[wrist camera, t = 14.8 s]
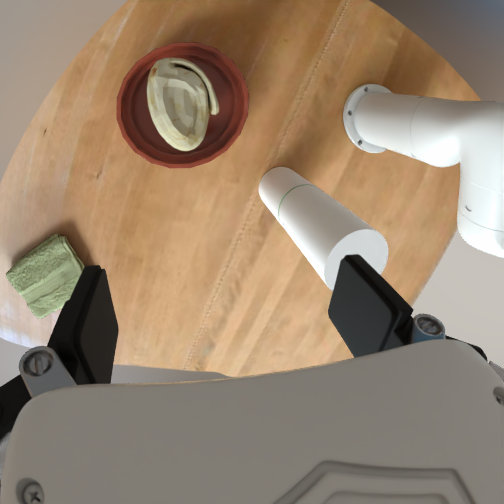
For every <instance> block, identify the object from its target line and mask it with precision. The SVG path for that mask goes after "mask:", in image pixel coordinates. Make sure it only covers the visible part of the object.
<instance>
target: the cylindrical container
mask: <svg viewBox="0 0 504 504" xmlns="http://www.w3.org/2000/svg"><path fill="white" fill-rule="evenodd" d="M259 194H260V197H261V199H262V200H263V202H264V203H265V204H266V206H267V207H268V208H269V209H270V211H271V212H272V213H273V215H274V216H275V217H276V218H277V220H278V221H279V222H280V224H281V225H282V226H283V228H284V229H285V230H286V231H287V233H288V234H289V235H290V237H291V238H292V239H293V241H294V242H295V243H296V245H297V246H298V247H299V249H300V250H301V251H302V252H303V254H304V255H305V256H306V258H307V259H308V260H309V262H310V263H311V265H312V266H313V267H314V269H315V270H316V271H317V273H318V274H319V275H320V277H321V278H322V279H323V281H324V282H325V283H326V285H327V286H328V288H329V289H330V290H332V291H333V290H334V286H335V282H336V278H337V274H338V270H339V265H340V261H341V259H343V258H344V257H345V256H346V255H353V254H359V255H360V256H361V257H363V258H364V259H365V260H366V261H367V262H368V263H369V264H370V265H371V266H372V267H373V268H374V269H375V270H376V271H377V272H378V273H379V274H380V275H381V273H382V271H383V270H384V268H385V265H386V263H387V259H388V245H387V242H386V240H385V238H384V237H383V236H382V235H381V234H380V233H379V232H378V231H376V230H375V229H374V228H373V227H371V226H370V225H369V224H367V223H366V222H365V221H363V220H362V219H361V218H359V217H358V216H357V215H355V214H354V213H353V212H351V211H350V210H349V209H347V208H346V207H345V206H343V205H342V204H340V203H339V202H338V201H336V200H335V199H333V198H332V197H331V196H329V195H328V194H326V193H325V192H324V191H322V190H321V189H319V188H318V187H316V186H315V185H314V184H312V183H311V182H309V181H308V180H306V179H305V178H303V177H302V176H300V175H299V174H297V173H296V172H294V171H293V170H291V169H289V168H286V167H276V168H273V169H271V170H269V171H268V172H267V173H266V174H264V176H263V177H262V179H261V181H260V184H259Z"/></svg>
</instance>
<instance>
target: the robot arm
mask: <svg viewBox="0 0 504 504" xmlns="http://www.w3.org/2000/svg"><path fill="white" fill-rule="evenodd" d="M364 89H365V90H364ZM343 121H344V127H345V130H346V132H347V135H348V136H349V138H350V140H351V141H352V142H353V143H354V144H355V145H356V146H357V147H358V148H360V149H362V150H364V151H367V152H372V153H380V152H383V151H385V150H387V149H389V150H392V151H395V152H398V153H401V154H404V155H406V156H409V157H412V158H415V159H417V160H420V161H423V162H425V163H428V164H430V165H433V166H437V167H449V166H452V165H455V164H457V163H459V162H460V174H461V175H460V190H459V201H458V212H457V226H458V230H459V233H460V235H461V236H462V238H463V239H464V240H465V241H466V242H467V243H468V244H470V245H471V246H473V247H475V248H477V249H479V250H481V251H484V252H486V253H489V254H492V255H495V256H499V257H501V258H504V103H503V102H494V101H458V100H449V99H441V98H433V97H425V96H416V95H405V94H393V93H392V92H391V91H390V90H388V89H387V88H385V87H383V86H381V85H377V84H366V85H362V86H360V87H358V88H356V89H355V90H354V91H353V92H352V93H351V94H350V95H349V97H348V99H347V100H346V103H345V106H344V112H343ZM358 141H359V142H358ZM412 312H413V309H412V308H411V307H410V305H409V304H408V303H407V302H406V301H405V300H404V299H403V298H402V297H401V296H400V295H399V294H398V293H397V292H396V291H395V290H394V289H393V288H392V287H391V286H390V285H389V284H388V283H387V281H386V280H385V279H384V278H383V277H382V276H381V275H380V274H379V273H378V272H377V271H376V270H375V269H374V268H373V267H372V266H371V265H370V264H369V263H368V262H367V261H366V260H365V259H364V258H363V257H361V256H360V255H359V254H353V255H346V256H345V257H344V258H343V259H341V261H340V265H339V270H338V274H337V278H336V282H335V286H334V290H333V294H332V298H331V301H330V305H329V309H328V315H329V318H330V319H331V321H332V323H333V324H334V326H335V327H336V329H337V330H338V332H339V334H340V335H341V337H342V338H343V340H344V342H345V343H346V345H347V346H348V348H349V350H350V351H351V353H352V354H353V356H354V358H352V359H347V360H342V361H337V362H332V363H327V364H322V365H317V366H311V367H306V368H300V369H294V370H287V371H281V372H274V373H267V374H259V375H252V376H243V377H234V378H224V379H213V380H202V381H186V382H166V383H128V384H127V383H126V384H110V383H111V375H112V368H113V362H114V355H115V349H116V343H117V338H118V323H117V319H116V315H115V311H114V307H113V303H112V298H111V294H110V289H109V285H108V280H107V275H106V271H105V269H101V267H100V266H99V265H92V266H85V267H84V269H83V271H82V273H81V275H80V277H79V279H78V281H77V284H76V286H75V288H74V290H73V292H72V295H71V297H70V299H69V300H67V301H66V302H65V303H64V306H63V308H62V310H61V313H60V315H59V317H58V320H57V322H56V324H55V327H54V329H53V332H52V334H51V337H50V340H49V342H48V345H47V347H46V346H38V347H35V348H32V349H30V350H29V351H27V352H26V353H25V354H24V355H23V356H22V358H21V360H20V362H19V370H20V373H21V374H20V375H18V376H17V377H15V378H14V379H12V380H11V381H9V382H7V383H6V384H4V385H3V386H1V387H0V504H504V369H503V368H501V367H500V366H498V365H496V364H495V363H493V362H491V361H490V362H489V363H488V362H487V357H486V355H485V354H484V352H483V350H482V349H481V348H479V347H477V346H474V345H471V344H469V343H466V342H463V341H460V340H457V339H454V338H451V337H449V336H446V335H445V328H444V325H443V324H442V322H440V321H439V320H438V319H437V318H435V317H433V316H431V315H428V314H418V315H416V316H415V317H414V318H412V317H411V314H412Z"/></svg>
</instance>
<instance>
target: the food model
mask: <svg viewBox="0 0 504 504" xmlns="http://www.w3.org/2000/svg"><path fill="white" fill-rule="evenodd" d="M147 98H148V107H149V110H150V114H151V117H152V121H153V122H154V124H155V126H156V128H157V130H158V132H159V134H160V135H161V136H162V137H163V138H164V139H165V140H166V142H167V143H169V144H170V145H171V146H173V147H174V148H176V149H179V150H181V151H189V150H192V149H195V148H196V147H197V146H199V145H200V143H201V142H202V140H203V139H204V136H205V133H206V130H207V124H208V120H209V116H210V114H209V112H210V113H211V114H212V115H216V114H217V113H218V112H219V104H218V100H217V97H216V94H215V92H214V89H213V86H212V84H211V82H210V80H209V79H208V77H207V76H206V75H205V73H204V72H203V71H202V70H201V69H200V68H199V67H198V66H196V65H195V64H194V63H192V62H190V61H188V60H185V59H181V58H163V59H161V60H158V61H156V63H155V64H154V65H153V67H152V68H151V71H150V74H149V77H148V84H147Z"/></svg>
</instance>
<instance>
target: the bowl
mask: <svg viewBox="0 0 504 504" xmlns="http://www.w3.org/2000/svg"><path fill="white" fill-rule="evenodd" d="M163 58H181V59H185V60H188V61H190V62H192V63H194V64H195V65H196V66H198V67H199V68H200V69H201V70H202V71H203V72H204V73H205V75H206V76H207V77H208V79H209V80H210V82H211V84H212V86H213V89H214V92H215V94H216V97H217V100H218V104H219V112H218V113H217V114H216V115H212V114H211V113H210V112H209V114H210V116H209V120H208V124H207V130H206V133H205V136H204V139H203V140H202V142H201V143H200V145H199V146H197V147H196V148H195V149H192V150H189V151H181V150H179V149H176V148H174V147H173V146H171V145H170V144H169V143H167V142H166V140H165V139H164V138H163V137H162V136H161V135H160V134H159V132H158V130H157V128H156V126H155V124H154V122H153V121H152V117H151V114H150V110H149V107H148V98H147V84H148V77H149V74H150V71H151V68H152V67H153V65H154V64H155V63H156V61H158V60H161V59H163ZM248 106H249V93H248V90H247V86H246V82H245V78H244V76H243V75H242V73H241V72H240V70H239V69H238V67H237V66H236V64H235V63H234V61H233V60H231V59H230V58H229V57H227V56H226V55H225V54H223V53H222V52H221V51H219V50H218V49H216V48H213V47H210V46H207V45H204V44H200V43H197V42H177V43H172V44H169V45H166V46H163V47H160V48H157V49H154V50H153V51H151V52H150V53H148V54H147V55H145V56H144V57H143V58H141V59H140V60H138V61H137V62H136V63H135V65H134V66H133V67H132V68H131V70H130V71H129V72H128V74H127V75H126V76H125V78H124V80H123V82H122V85H121V88H120V90H119V93H118V96H117V121H118V124H119V127H120V130H121V133H122V136H123V138H124V139H125V140H126V142H127V143H128V144H129V146H130V147H131V148H132V149H133V151H134V152H135V153H137V154H138V155H140V156H141V157H143V158H144V159H146V160H147V161H149V162H150V163H153V164H156V165H160V166H163V167H167V168H192V167H195V166H198V165H201V164H204V163H207V162H210V161H212V160H213V159H215V158H216V157H218V156H219V155H221V154H222V153H224V152H225V151H227V150H228V149H229V147H230V146H231V145H232V144H233V142H234V141H235V140H236V139H237V138H238V136H239V135H240V134H241V131H242V129H243V126H244V124H245V121H246V119H247V117H248Z"/></svg>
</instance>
